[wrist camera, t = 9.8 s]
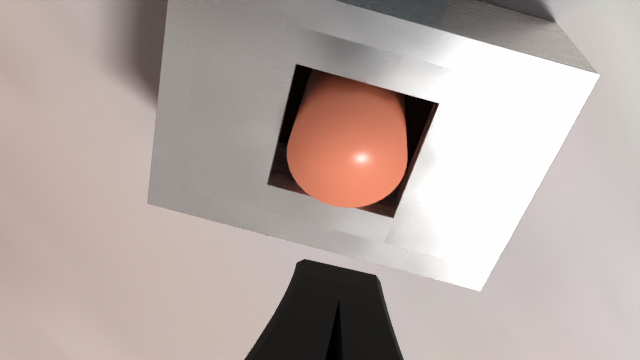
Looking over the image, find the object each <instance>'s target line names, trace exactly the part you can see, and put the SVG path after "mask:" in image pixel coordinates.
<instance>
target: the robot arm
mask: <svg viewBox="0 0 640 360" xmlns="http://www.w3.org/2000/svg"><path fill="white" fill-rule="evenodd" d="M244 360H404V359H403V357H402V354H401V351H400V348H399V345H398V342H397V339H396V336H395V333H394V330H393V327H392V324H391V321H390V317H389V314H388V310H387V307H386V303H385V300H384V296H383V292H382V287H381V283H380V281H379V279H378V278H377V276H376V275H373V274H368V273H364V272H360V271H355V270H351V269H346V268H342V267H337V266H333V265H329V264H324V263H320V262H315V261H311V260H306V259H304V260H302V261H300V262H297V264H296V268H295V271H294V274H293V277H292V279H291V282H290V284H289V286H288V288H287V291H286V293H285V295H284V297H283V299H282V300H281V302H280V304H279V306H278V308H277V309H276V311H275V313H274V315H273V316H272V318H271V320H270V321H269V323H268V324H267V326H266V328H265V329H264V331H263V332H262V334H261V335H260V337H259V339H258V340H257V342H256V343H255V345H254V346H253V348H252V349H251V351H250V352H249V354H248V355H247V357H246V358H245V359H244Z"/></svg>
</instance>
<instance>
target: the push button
mask: <svg viewBox="0 0 640 360" xmlns="http://www.w3.org/2000/svg"><path fill="white" fill-rule="evenodd" d="M287 161H288V165H289V169H290V171H291V174H292V176H293V178H294V179H295V181H296V182H297V183H298V185H299V186H300V187H301V188H302V189H303V190H304V191H305V192H306V193H307V194H309V195H310V196H311V197H313V198H315V199H316V200H318V201H321V202H323V203H325V204H328V205H332V206H336V207H344V208H355V207H362V206H366V205H370V204H373V203H375V202H377V201H379V200H381V199H383V198H384V197H386V196H387V195H389V194H390V193H391V192H392V191H393V190H394V189H395V188H396V187H397V186H398V184H399V183H400V181H401V180H402V178H403V175H404V173H405V170H406V166H407V137H406V117H405V97H404V94H403V93H400V92H396V91H393V90H389V89H385V88H382V87H378V86H375V85H371V84H367V83H364V82H360V81H357V80H353V79H349V78H346V77H342V76H338V75H335V74H331V73H328V72H324V71H320V70H317V69H312V71H311V73H310V75H309V78H308V81H307V84H306V88H305V91H304V94H303V97H302V100H301V103H300V107H299V110H298V113H297V116H296V119H295V122H294V125H293V129H292V132H291V135H290V138H289V141H288V146H287Z"/></svg>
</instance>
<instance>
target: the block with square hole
mask: <svg viewBox="0 0 640 360" xmlns="http://www.w3.org/2000/svg"><path fill="white" fill-rule="evenodd" d="M297 64H299V65H302V66H306V67H310V68H313V69H317V70H320V71H324V72H328V73H331V74H335V75H338V76H342V77H346V78H349V79H353V80H357V81H360V82H364V83H367V84H371V85H375V86H378V87H382V88H385V89H389V90H393V91H396V92H400V93H403V94H407V95H411V96H414V97H418V98H422V99H425V100H429V101H432V102H434V104H433V107H432V109H431V112H430V114H429V117H428V119H427V122H426V125H425V127H424V130H423V132H422V135H421V137H420V140H419V142H418V145H417V147H416V150H415V152H414V155H413V157H412V160H411V163H410V165H409V168H408V170H407V173H406V175H405V176H403V178H402V180H401V181H400V183H399V184H398V186H397V187H396V188H395V189H394V190H393V191H392V192H391V193H390V194H389V195H387V196H386V197H384V198H383V199H381V200H379V201H377V202H375V203H373V204H370V205H366V206H362V207H355V208H344V207H336V206H332V205H328V204H325V203H323V202H321V201H318V200H316V199H315V198H313V197H311V196H310V195H309V194H307V193H306V192H305V191H304V190H303V189H302V188H301V187H300V186H299V185H298V183H297V182H296V181H295V179H294V178H293V176H292V174H291V171H290V169H289V165H288V161H287V146H288V144H285V143H281V142H278V141H279V137H280V133H281V128H282V124H283V120H284V116H285V112H286V107H287V103H288V99H289V95H290V91H291V87H292V82H293V78H294V74H295V70H296V66H297ZM598 77H599V74H598V73H597V72H596V70H595V69H594V68H593V67H592V65H591V64H590V63H589V62H588V61H587V59H586V58H585V57H584V56H583V54H582V53H581V52H580V51H579V50H578V48H577V47H576V46H575V45H574V43H573V42H572V41H571V40H570V39H569V37H568V36H567V35H566V34H565V32H564V31H563V30H562V29H561V28H560V26H559V25H558V24H557V23H555V22H551V21H548V20H544V19H541V18H537V17H534V16H530V15H527V14H523V13H520V12H517V11H513V10H510V9H506V8H503V7H499V6H496V5H492V4H489V3H485V2H482V1H478V0H449V3H448V5H447V8H446V9H444V8H440V7H437V6H433V5H430V4H426V3H423V2H419V1H415V0H168V5H167V14H166V24H165V34H164V44H163V54H162V63H161V73H160V83H159V93H158V103H157V112H156V122H155V132H154V142H153V151H152V161H151V171H150V181H149V191H148V200H147V204H151V205H155V206H158V207H162V208H166V209H170V210H174V211H177V212H181V213H185V214H189V215H193V216H196V217H200V218H204V219H208V220H212V221H215V222H219V223H223V224H227V225H231V226H234V227H238V228H242V229H246V230H250V231H254V232H257V233H261V234H265V235H269V236H273V237H276V238H280V239H284V240H288V241H292V242H295V243H299V244H303V245H307V246H311V247H314V248H318V249H322V250H326V251H330V252H333V253H337V254H341V255H345V256H349V257H352V258H356V259H360V260H364V261H368V262H371V263H375V264H379V265H383V266H387V267H390V268H394V269H398V270H402V271H406V272H410V273H413V274H417V275H421V276H425V277H429V278H432V279H436V280H440V281H444V282H448V283H451V284H455V285H459V286H463V287H467V288H470V289H474V290H478V291H480V290H481V288H482V286H483V285H484V283H485V281H486V279H487V277H488V276H489V274H490V272H491V270H492V268H493V266H494V265H495V263H496V261H497V259H498V257H499V256H500V254H501V252H502V250H503V248H504V247H505V245H506V243H507V241H508V239H509V238H510V236H511V234H512V232H513V230H514V229H515V227H516V225H517V223H518V221H519V219H520V218H521V216H522V214H523V212H524V210H525V209H526V207H527V205H528V203H529V201H530V200H531V198H532V196H533V194H534V192H535V191H536V189H537V187H538V185H539V183H540V182H541V180H542V178H543V176H544V174H545V172H546V171H547V169H548V167H549V165H550V163H551V162H552V160H553V158H554V156H555V154H556V153H557V151H558V149H559V147H560V145H561V144H562V142H563V140H564V138H565V136H566V135H567V133H568V131H569V129H570V127H571V125H572V124H573V122H574V120H575V118H576V116H577V115H578V113H579V111H580V109H581V107H582V106H583V104H584V102H585V100H586V98H587V97H588V95H589V93H590V91H591V89H592V88H593V86H594V84H595V82H596V80H597V78H598Z"/></svg>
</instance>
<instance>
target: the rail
mask: <svg viewBox="0 0 640 360" xmlns="http://www.w3.org/2000/svg"><path fill="white" fill-rule="evenodd" d="M415 1H419V2H423V3H426V4H430V5H433V6H437V7H440V8H444V9H446V8H447V5H448V3H449V0H415Z"/></svg>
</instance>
